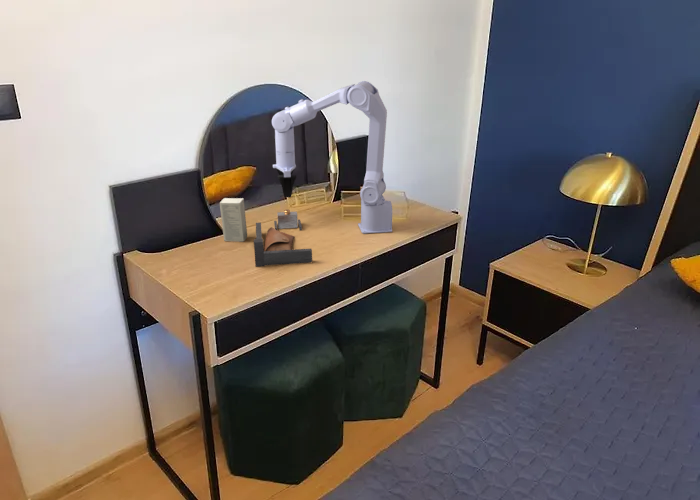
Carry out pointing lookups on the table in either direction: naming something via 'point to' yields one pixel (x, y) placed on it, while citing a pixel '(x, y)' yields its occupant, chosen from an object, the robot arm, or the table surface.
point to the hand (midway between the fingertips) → (286, 193)
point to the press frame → (278, 252)
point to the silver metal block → (287, 219)
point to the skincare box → (233, 219)
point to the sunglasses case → (278, 240)
